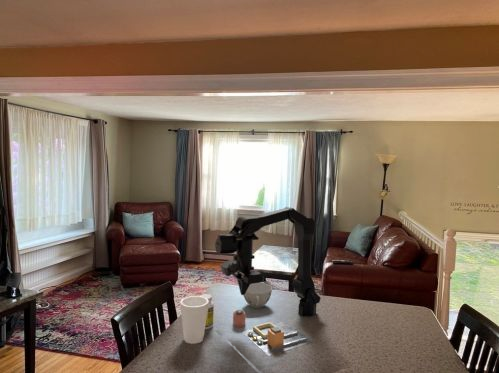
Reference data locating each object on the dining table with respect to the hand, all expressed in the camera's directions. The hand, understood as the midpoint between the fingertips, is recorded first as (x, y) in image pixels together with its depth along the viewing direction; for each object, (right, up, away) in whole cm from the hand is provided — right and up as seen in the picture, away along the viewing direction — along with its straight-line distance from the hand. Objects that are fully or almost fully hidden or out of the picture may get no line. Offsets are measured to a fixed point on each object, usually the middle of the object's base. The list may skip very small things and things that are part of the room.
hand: (242, 294), depth 126 cm
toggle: (+11, -13, -12) cm, 20 cm away
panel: (+12, -13, -6) cm, 19 cm away
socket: (+9, -13, -3) cm, 16 cm away
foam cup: (-16, -13, -8) cm, 22 cm away
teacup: (+5, -11, +20) cm, 24 cm away
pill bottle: (-14, -12, +2) cm, 19 cm away
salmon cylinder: (-1, -12, +2) cm, 12 cm away
